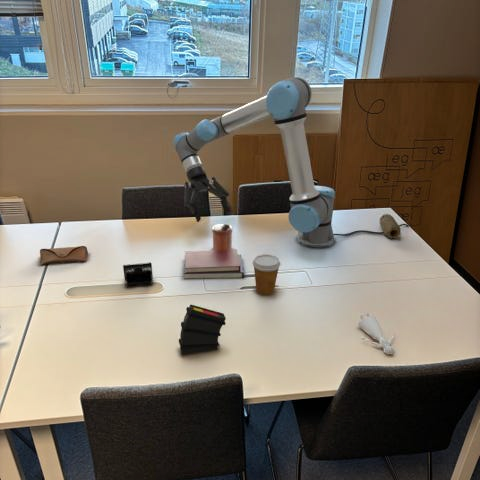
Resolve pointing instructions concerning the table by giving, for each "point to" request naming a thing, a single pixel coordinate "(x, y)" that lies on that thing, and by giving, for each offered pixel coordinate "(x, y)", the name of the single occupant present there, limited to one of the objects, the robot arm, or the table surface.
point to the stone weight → (389, 226)
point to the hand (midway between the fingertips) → (213, 217)
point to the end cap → (138, 274)
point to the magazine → (200, 330)
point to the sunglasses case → (63, 255)
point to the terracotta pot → (222, 237)
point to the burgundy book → (212, 261)
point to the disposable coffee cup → (265, 273)
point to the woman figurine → (375, 333)
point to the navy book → (216, 273)
